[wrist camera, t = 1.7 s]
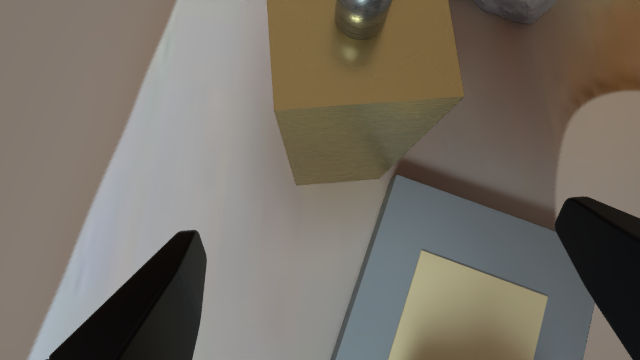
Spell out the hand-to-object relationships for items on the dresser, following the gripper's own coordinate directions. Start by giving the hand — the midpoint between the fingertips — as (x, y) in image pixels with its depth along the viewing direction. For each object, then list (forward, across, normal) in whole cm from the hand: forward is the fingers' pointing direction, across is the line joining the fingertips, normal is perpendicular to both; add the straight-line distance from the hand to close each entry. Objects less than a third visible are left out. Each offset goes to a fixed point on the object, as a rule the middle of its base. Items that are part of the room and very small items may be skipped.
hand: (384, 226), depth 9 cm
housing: (+12, 0, +4) cm, 13 cm away
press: (+4, -6, +13) cm, 14 cm away
